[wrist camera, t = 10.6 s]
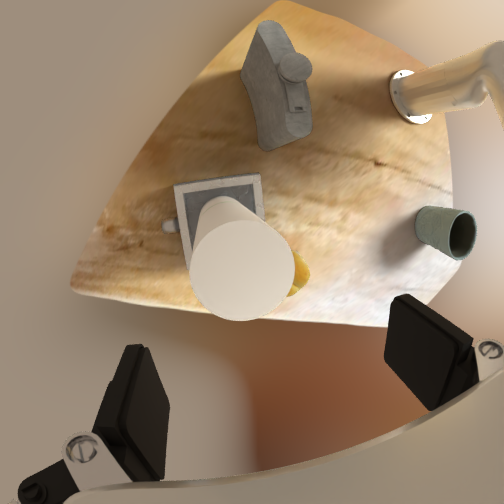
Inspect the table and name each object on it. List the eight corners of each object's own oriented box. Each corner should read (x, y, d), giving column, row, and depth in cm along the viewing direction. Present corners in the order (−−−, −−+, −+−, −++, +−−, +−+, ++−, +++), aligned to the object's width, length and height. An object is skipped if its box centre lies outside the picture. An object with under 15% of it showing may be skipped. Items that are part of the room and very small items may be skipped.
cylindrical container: (197, 240, 43) (187, 318, 19) (201, 193, 41) (193, 215, 17) (243, 244, 44) (286, 322, 20) (248, 198, 42) (302, 225, 19)
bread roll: (251, 271, 51) (254, 279, 47) (290, 241, 51) (297, 246, 47) (277, 303, 54) (282, 312, 50) (314, 274, 53) (321, 281, 49)
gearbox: (253, 173, 46) (262, 172, 39) (261, 247, 50) (271, 259, 43) (159, 186, 45) (150, 188, 37) (171, 260, 48) (166, 275, 41)
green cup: (445, 224, 56) (481, 234, 44) (424, 255, 57) (459, 270, 45) (428, 193, 53) (466, 199, 41) (404, 225, 54) (442, 238, 42)
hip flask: (238, 69, 41) (258, 11, 22) (260, 66, 42) (292, 9, 22) (260, 152, 46) (296, 136, 27) (282, 148, 46) (331, 131, 27)
